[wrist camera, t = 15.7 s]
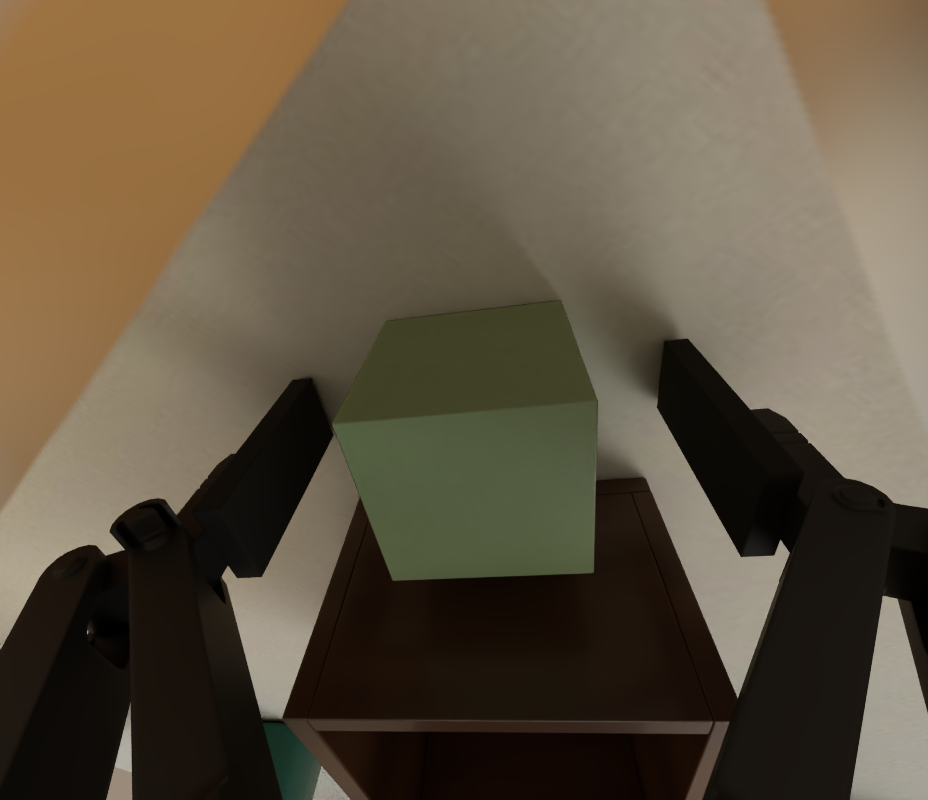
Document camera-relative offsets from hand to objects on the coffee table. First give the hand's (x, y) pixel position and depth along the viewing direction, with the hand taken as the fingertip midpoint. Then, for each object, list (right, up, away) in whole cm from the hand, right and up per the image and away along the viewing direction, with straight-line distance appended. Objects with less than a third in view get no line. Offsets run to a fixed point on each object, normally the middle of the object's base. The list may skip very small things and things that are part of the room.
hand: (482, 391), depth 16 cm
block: (0, 0, 0) cm, 0 cm away
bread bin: (+2, -11, +7) cm, 13 cm away
